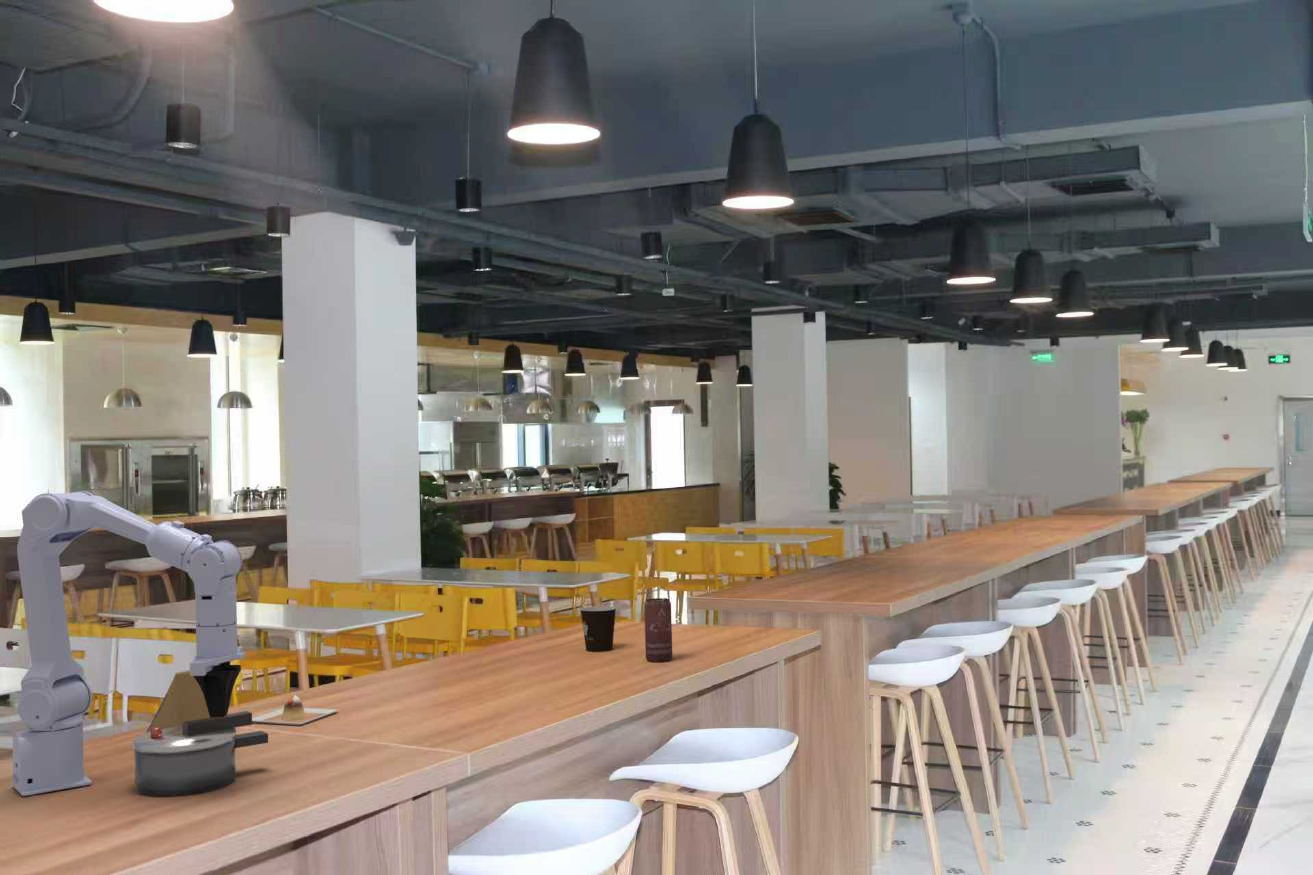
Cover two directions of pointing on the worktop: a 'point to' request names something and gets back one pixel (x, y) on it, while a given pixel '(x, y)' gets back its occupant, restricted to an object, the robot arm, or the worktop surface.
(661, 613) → the can
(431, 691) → the worktop surface
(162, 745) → the cooker lid
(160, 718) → the sandwich container
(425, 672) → the worktop surface
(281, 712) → the dessert
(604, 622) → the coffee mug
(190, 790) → the cooker pot
